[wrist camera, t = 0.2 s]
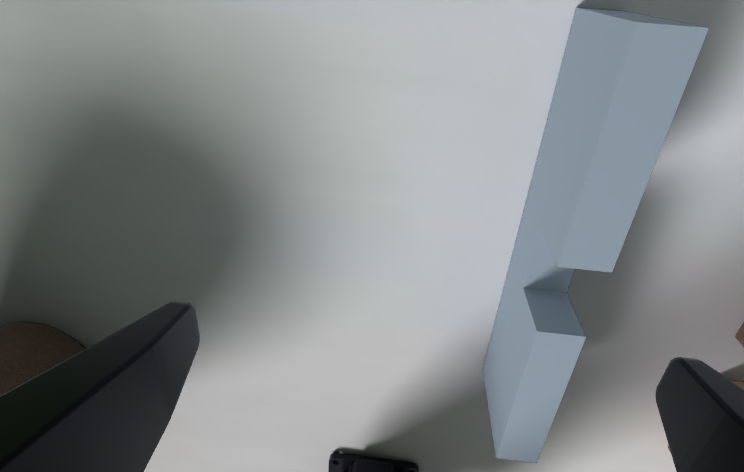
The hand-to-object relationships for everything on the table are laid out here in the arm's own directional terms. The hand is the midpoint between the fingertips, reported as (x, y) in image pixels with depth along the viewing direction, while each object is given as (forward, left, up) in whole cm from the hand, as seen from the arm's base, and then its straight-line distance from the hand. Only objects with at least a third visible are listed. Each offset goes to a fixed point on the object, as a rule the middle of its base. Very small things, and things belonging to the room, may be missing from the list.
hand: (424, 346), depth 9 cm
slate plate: (-5, -6, -14) cm, 17 cm away
